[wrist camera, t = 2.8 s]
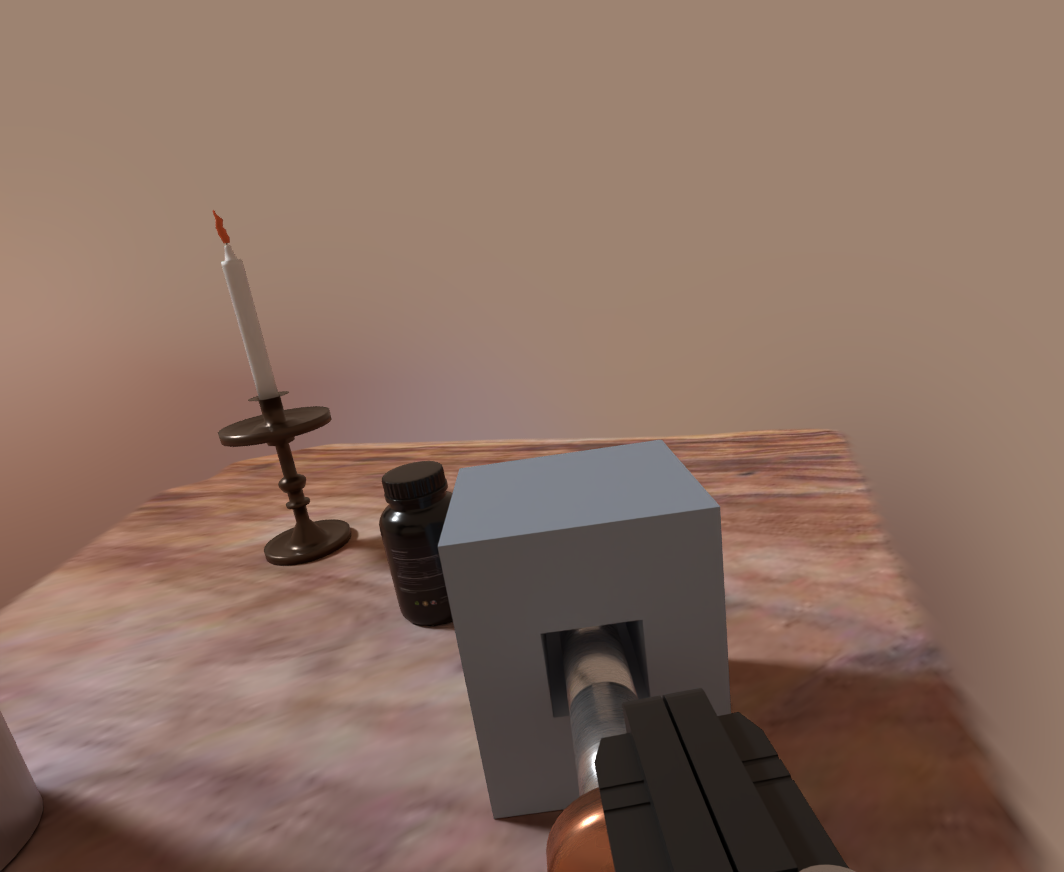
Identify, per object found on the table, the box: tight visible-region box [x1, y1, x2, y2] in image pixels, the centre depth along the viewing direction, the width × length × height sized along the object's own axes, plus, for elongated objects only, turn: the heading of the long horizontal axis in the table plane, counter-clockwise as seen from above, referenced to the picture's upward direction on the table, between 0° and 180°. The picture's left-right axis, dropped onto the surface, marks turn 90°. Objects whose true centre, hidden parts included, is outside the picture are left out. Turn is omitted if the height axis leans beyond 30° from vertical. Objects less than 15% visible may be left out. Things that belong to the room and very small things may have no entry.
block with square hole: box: [438, 440, 731, 819], centre depth 31 cm, size 10×12×15 cm
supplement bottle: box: [379, 461, 453, 626], centre depth 46 cm, size 7×7×12 cm
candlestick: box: [213, 210, 351, 566], centre depth 59 cm, size 11×11×35 cm
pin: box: [546, 623, 638, 872], centre depth 26 cm, size 20×6×6 cm, turn 2°
